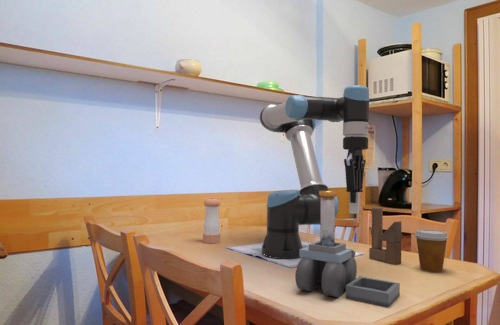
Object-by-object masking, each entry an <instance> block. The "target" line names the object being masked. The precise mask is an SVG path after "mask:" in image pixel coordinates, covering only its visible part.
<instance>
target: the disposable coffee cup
mask: <svg viewBox="0 0 500 325" xmlns="http://www.w3.org/2000/svg"><path fill="white" fill-rule="evenodd" d="M414 236H415V238H416V244H417V253H418V261H419V268H420V269H419V270H421V271H425V272H427V273H442V272H443V271H444V262H445V256H446V255H445V254H446V248H447V243H448V241H447V240H448V239H449V236H448V232H447V231H445V230H444V231H443V230H440V229H439V230H438V229H427V228H425V229H424V228H423V229H422V228H421V229H416V231H415V234H414Z"/></svg>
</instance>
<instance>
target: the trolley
mask: <svg viewBox="0 0 500 325" xmlns="http://www.w3.org/2000/svg"><path fill="white" fill-rule="evenodd" d="M346 247H347V244H346V243H343V242H335V245H334V247H328V246H321V245H320V240H317V241H315V242H311V243H310V244H309V243H308V246H305V247H303V248H302V249H300V251H299V257H298V258H300V260H299V261H298V263H297V265H296V268H295V284H296V287H297V289H299V290H301V291H306V292H311V293H312V292H315V290H316V289H317V288H318V284H321V289H322V292H323V294H324V295H325V296H330V297H334V298H340V297H341V296H342V295H343V294H344V290H345V289H346V285H347V284H349V283H350V282H352V281H353V280H355V279H356V278H357V261H356V259H355V257H354V258H353V257H352V250H353V249H351V250H348V249H349V248H346Z"/></svg>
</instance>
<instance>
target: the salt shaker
mask: <svg viewBox="0 0 500 325" xmlns="http://www.w3.org/2000/svg"><path fill="white" fill-rule="evenodd" d="M203 205H204V207H205V215H204V216H205V218H204V221H203V222H204V224H203V234H202V243H203V244H217V243H218V244H219V243H221V233H220V218H219V207H220V205H221V201H220V199H218V198H215V197H214V196H210V198H206V199H205V200H204V201H203Z"/></svg>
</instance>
